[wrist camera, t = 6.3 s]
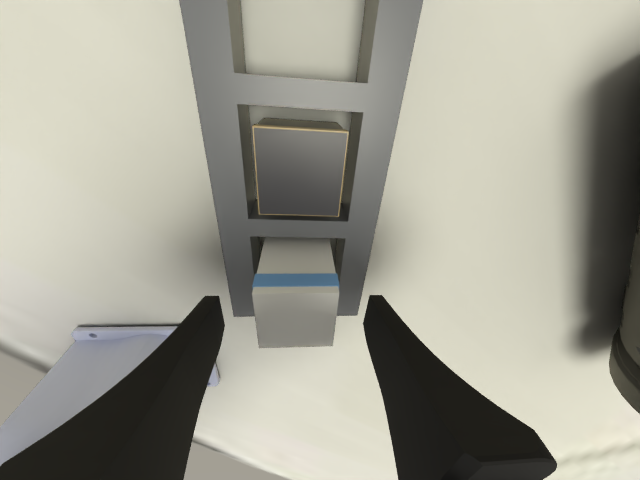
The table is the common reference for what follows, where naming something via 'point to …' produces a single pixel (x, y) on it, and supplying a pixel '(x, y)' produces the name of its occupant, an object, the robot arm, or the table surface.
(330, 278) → the grey plug
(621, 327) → the muzzle brake
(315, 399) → the table surface
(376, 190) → the socket board
